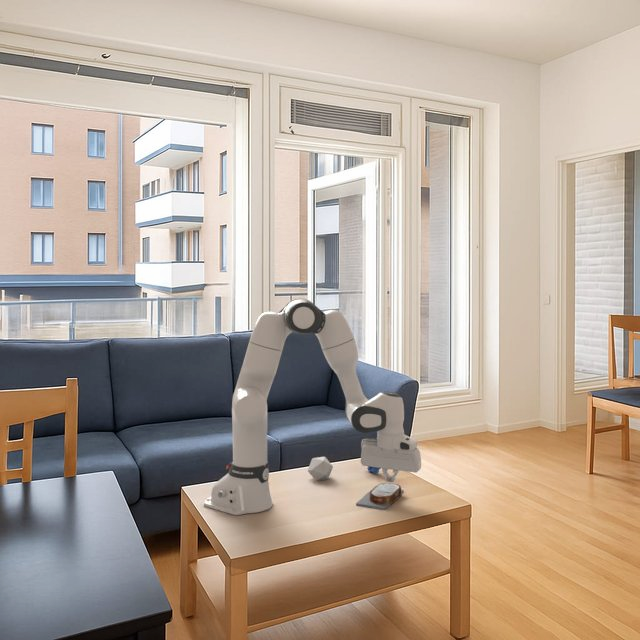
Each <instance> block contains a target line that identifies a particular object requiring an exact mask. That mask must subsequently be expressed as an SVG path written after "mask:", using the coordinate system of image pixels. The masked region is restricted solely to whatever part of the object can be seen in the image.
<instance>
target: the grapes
mask: <svg viewBox="0 0 640 640" xmlns="http://www.w3.org/2000/svg"><path fill="white" fill-rule="evenodd" d="M380 470H382V468H377V467H370V466H367V471H368V472H369V473H371V474H372V473H373V474H375V475H377V474H379V471H380Z"/></svg>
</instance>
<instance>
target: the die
mask: <svg viewBox="0 0 640 640" xmlns="http://www.w3.org/2000/svg"><path fill="white" fill-rule="evenodd" d="M333 468H334V465H333V464H331V462H330V461H329V460H328V458H327V457H326V456H320V457H319V456H317V457H313V458H311V460H310V464H309V466H308V469H307V472H308V473H309V475H310V476H311V477H312V478H313V479H314V481H317V482H318V481H324V480H329V479H330V476H331V473H332V470H333Z"/></svg>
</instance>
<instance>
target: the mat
mask: <svg viewBox="0 0 640 640" xmlns="http://www.w3.org/2000/svg"><path fill="white" fill-rule="evenodd" d="M376 486H377V485H375V486H373V488H372V489H374V488H375V487H376ZM402 493H404V489H402V488H401V494H402ZM369 498H370V491H368V492H367V493H366V494H365V495H364V496H363V497H362V498H360V499H358V501H357V502H356V503H355V506H358V507H363V508H364V507H366V508H370V509H371V508H372V509H378V510H383V511H384V510H387V509H388V508H389V507H390V505H392V504H393V503H391V504H376V503H372V502H371V501H370V500H369Z"/></svg>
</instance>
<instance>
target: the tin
mask: <svg viewBox="0 0 640 640" xmlns="http://www.w3.org/2000/svg"><path fill="white" fill-rule="evenodd" d="M375 486H376V487H375ZM375 486H374V487H375V488H374V487H373V488H374V489H373V488H371V490H370V491H369V492H370V498H369V500H370V501H371V502H372V503H376V504H391V503H392V504H393V503H394V502H395V501H397V500H398V498H400V497H401V496H402V493H401V489H402V486H401V485H400V484H398V483H393V482H382V483H379V484H378V485H375ZM392 504H391V505H392Z"/></svg>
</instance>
